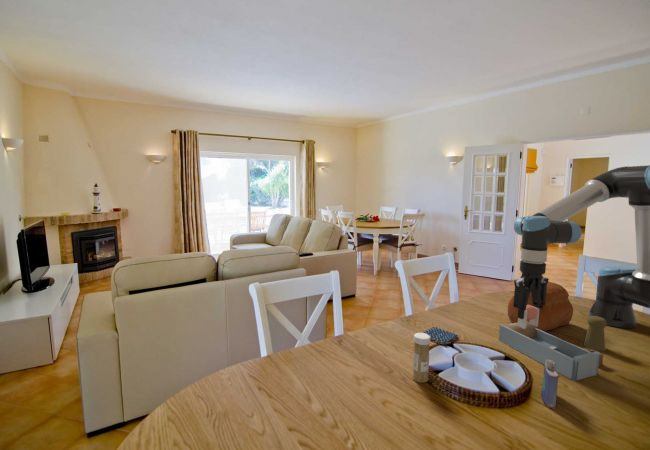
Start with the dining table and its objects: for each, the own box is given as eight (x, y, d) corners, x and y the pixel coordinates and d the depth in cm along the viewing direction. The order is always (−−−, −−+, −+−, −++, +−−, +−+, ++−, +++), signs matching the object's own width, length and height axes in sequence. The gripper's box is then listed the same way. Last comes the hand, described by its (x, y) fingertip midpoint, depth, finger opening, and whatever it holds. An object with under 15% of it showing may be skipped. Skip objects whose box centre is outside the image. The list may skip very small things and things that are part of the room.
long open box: (519, 336, 126) (520, 317, 125) (597, 374, 101) (600, 351, 100) (498, 340, 123) (500, 320, 122) (574, 381, 98) (577, 356, 97)
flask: (556, 410, 85) (559, 370, 84) (542, 406, 87) (545, 367, 85) (552, 390, 93) (555, 354, 92) (539, 387, 95) (542, 351, 93)
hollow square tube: (590, 359, 110) (591, 349, 109) (602, 364, 107) (603, 354, 106) (583, 361, 109) (584, 351, 108) (595, 366, 106) (596, 356, 105)
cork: (609, 352, 115) (612, 321, 113) (589, 350, 116) (592, 319, 115) (598, 343, 121) (602, 314, 119) (579, 342, 122) (582, 313, 120)
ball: (540, 320, 115) (541, 307, 115) (529, 322, 114) (530, 308, 113) (527, 315, 120) (528, 302, 119) (516, 317, 118) (517, 303, 118)
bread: (575, 325, 136) (579, 285, 134) (544, 336, 127) (548, 293, 124) (532, 311, 152) (535, 275, 150) (502, 319, 142) (505, 281, 140)
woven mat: (445, 348, 118) (446, 343, 117) (419, 338, 126) (419, 333, 125) (460, 339, 124) (460, 334, 124) (434, 330, 132) (434, 325, 132)
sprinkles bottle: (428, 384, 96) (430, 340, 94) (411, 381, 97) (413, 337, 95) (428, 375, 100) (430, 333, 98) (412, 373, 101) (414, 331, 100)
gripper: (541, 257, 121) (536, 318, 124) (503, 260, 115) (499, 325, 118) (562, 261, 114) (556, 326, 117) (523, 265, 108) (517, 334, 111)
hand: (527, 326), depth 117 cm, fingers closed on ball, 5 cm apart
